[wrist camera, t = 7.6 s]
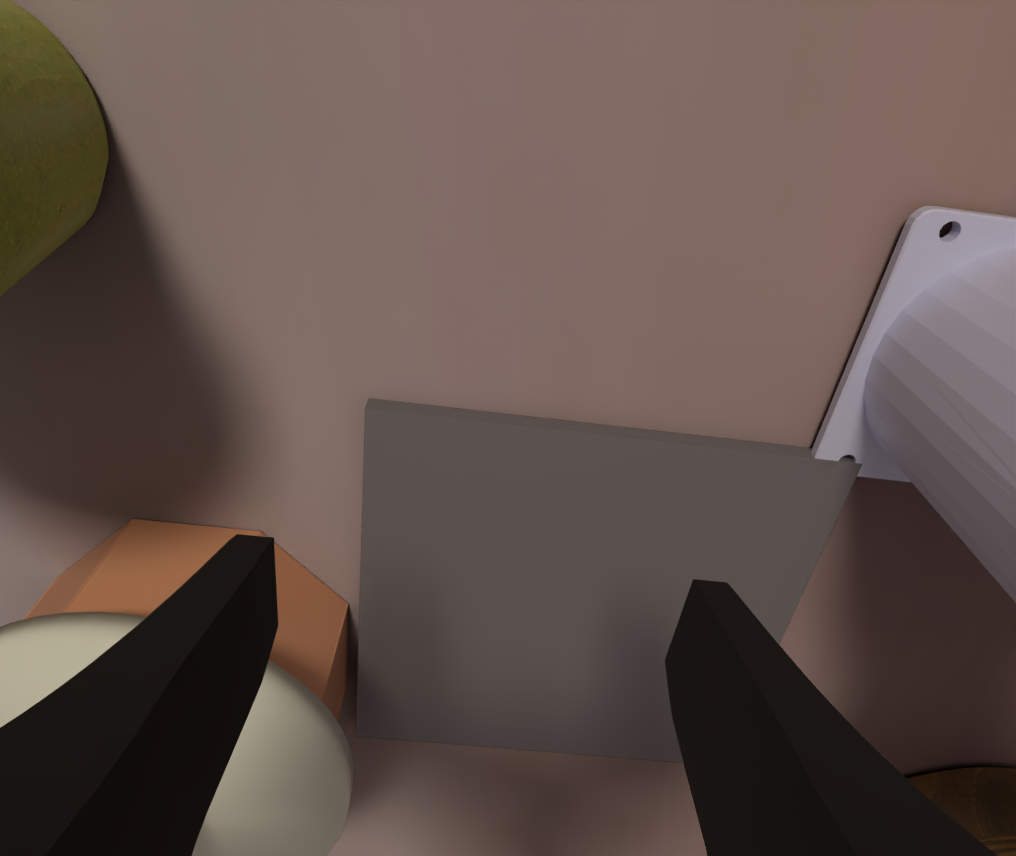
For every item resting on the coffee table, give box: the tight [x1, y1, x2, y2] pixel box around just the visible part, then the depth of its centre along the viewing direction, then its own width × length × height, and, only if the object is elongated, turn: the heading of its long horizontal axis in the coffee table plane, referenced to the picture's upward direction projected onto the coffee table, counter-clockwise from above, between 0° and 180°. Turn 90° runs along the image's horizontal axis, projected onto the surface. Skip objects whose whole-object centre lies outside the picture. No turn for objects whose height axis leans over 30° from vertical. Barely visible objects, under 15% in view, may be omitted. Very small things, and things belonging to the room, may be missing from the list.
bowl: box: [23, 518, 349, 722], centre depth 24 cm, size 10×10×5 cm
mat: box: [356, 399, 862, 763], centre depth 25 cm, size 15×15×1 cm
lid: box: [0, 612, 354, 856], centre depth 20 cm, size 12×12×4 cm
